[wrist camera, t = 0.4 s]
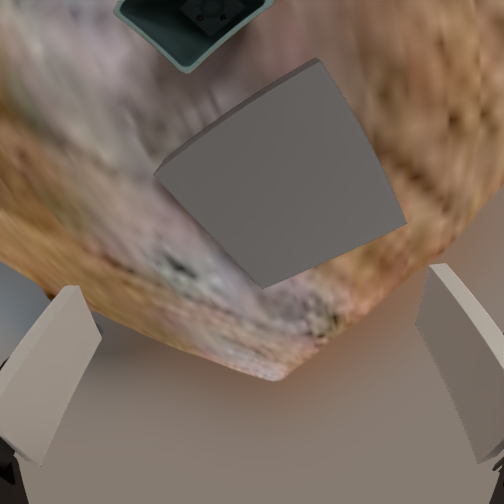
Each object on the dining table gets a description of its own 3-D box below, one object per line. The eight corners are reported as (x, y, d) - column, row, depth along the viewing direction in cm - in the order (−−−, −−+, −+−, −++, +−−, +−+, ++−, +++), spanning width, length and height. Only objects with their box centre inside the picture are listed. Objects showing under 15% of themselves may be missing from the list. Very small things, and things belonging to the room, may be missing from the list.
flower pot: (210, 64, 27) (185, 77, 20) (152, 12, 23) (109, 11, 16) (278, 10, 22) (277, 1, 16) (216, -45, 18) (192, -70, 12)
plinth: (315, 57, 25) (320, 60, 22) (397, 204, 35) (407, 223, 32) (164, 159, 34) (153, 174, 31) (264, 268, 44) (262, 289, 41)
